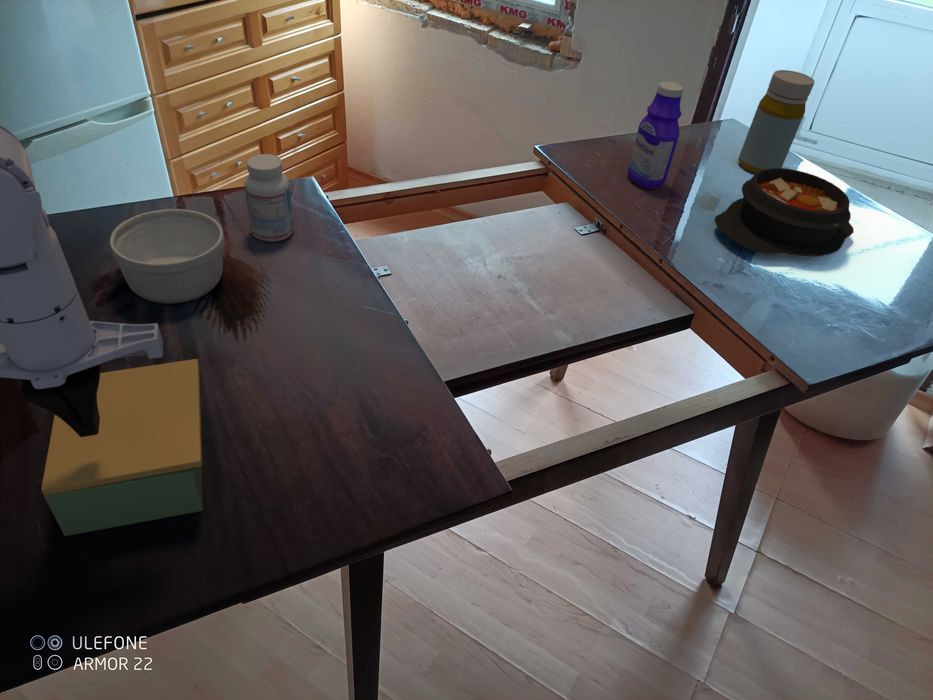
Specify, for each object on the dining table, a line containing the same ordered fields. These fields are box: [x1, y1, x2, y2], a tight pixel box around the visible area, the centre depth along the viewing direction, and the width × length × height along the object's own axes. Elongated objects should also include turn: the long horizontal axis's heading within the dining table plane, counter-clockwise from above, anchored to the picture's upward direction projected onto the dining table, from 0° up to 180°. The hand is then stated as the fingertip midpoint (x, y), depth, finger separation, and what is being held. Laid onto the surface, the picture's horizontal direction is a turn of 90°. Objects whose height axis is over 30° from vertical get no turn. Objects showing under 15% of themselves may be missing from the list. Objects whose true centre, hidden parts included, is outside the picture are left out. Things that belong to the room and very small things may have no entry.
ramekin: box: [109, 208, 225, 305], centre depth 88 cm, size 13×13×7 cm
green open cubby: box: [43, 465, 204, 537], centre depth 65 cm, size 12×14×6 cm
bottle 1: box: [627, 81, 684, 190], centre depth 119 cm, size 7×6×17 cm
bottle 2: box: [737, 69, 815, 175], centre depth 128 cm, size 8×8×17 cm
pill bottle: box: [244, 153, 294, 243], centre depth 97 cm, size 6×6×11 cm
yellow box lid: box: [41, 358, 203, 496], centre depth 63 cm, size 12×14×1 cm
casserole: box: [714, 168, 854, 257], centre depth 111 cm, size 25×19×8 cm
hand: (90, 427), depth 57 cm, fingers closed
